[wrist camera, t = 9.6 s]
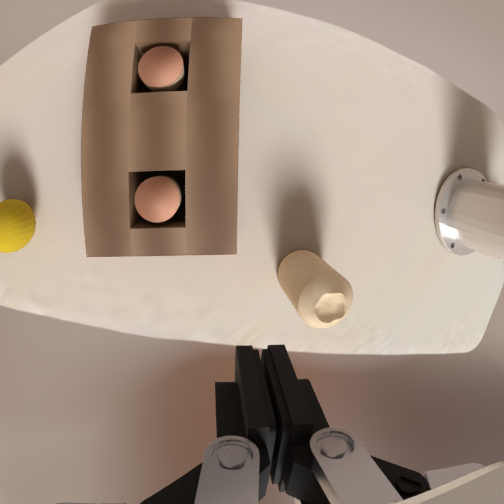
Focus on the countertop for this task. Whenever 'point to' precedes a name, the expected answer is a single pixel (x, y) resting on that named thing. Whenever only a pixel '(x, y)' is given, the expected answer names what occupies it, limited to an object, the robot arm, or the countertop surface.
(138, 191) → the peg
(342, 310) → the candle
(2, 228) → the lemon
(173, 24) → the block
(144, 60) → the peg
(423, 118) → the countertop surface
